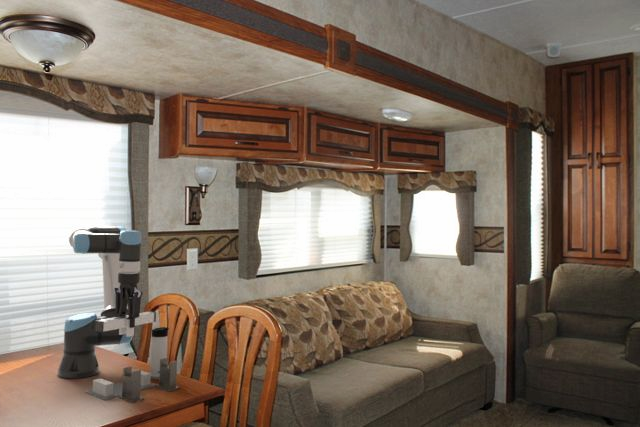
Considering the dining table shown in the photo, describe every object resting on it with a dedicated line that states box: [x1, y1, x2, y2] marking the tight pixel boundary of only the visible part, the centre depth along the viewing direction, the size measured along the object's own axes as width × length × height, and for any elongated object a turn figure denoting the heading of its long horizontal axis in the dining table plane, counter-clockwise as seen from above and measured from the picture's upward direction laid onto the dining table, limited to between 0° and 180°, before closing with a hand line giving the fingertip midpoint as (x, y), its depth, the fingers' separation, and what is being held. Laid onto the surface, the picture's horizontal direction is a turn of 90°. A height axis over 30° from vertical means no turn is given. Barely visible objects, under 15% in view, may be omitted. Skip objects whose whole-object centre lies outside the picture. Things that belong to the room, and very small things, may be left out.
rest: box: [85, 368, 158, 401], centre depth 204 cm, size 12×22×5 cm, turn 144°
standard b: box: [154, 357, 181, 393], centre depth 207 cm, size 8×5×10 cm, turn 54°
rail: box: [95, 310, 157, 332], centre depth 204 cm, size 4×24×4 cm, turn 146°
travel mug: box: [149, 326, 169, 380], centre depth 220 cm, size 6×7×20 cm
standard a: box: [117, 366, 145, 404], centre depth 194 cm, size 8×5×10 cm, turn 54°
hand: (126, 334), depth 204 cm, fingers closed on rail, 3 cm apart
